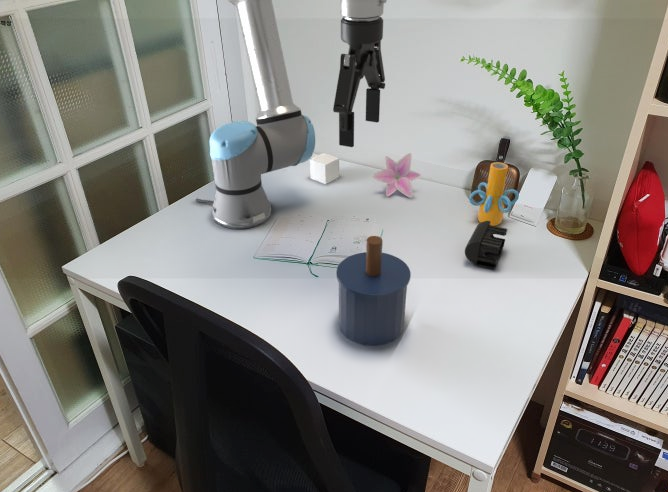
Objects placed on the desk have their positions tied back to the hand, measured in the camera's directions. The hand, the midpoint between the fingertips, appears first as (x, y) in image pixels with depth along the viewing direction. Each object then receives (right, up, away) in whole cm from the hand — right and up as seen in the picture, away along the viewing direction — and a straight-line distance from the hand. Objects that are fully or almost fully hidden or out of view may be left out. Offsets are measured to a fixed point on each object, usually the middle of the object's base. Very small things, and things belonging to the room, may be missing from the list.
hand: (359, 133), depth 111 cm
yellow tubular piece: (+35, -14, +32) cm, 49 cm away
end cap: (+30, -24, +19) cm, 42 cm away
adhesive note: (-7, 0, +53) cm, 54 cm away
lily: (+13, -5, +45) cm, 48 cm away
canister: (+2, -38, 0) cm, 38 cm away
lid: (+2, -28, -8) cm, 29 cm away
